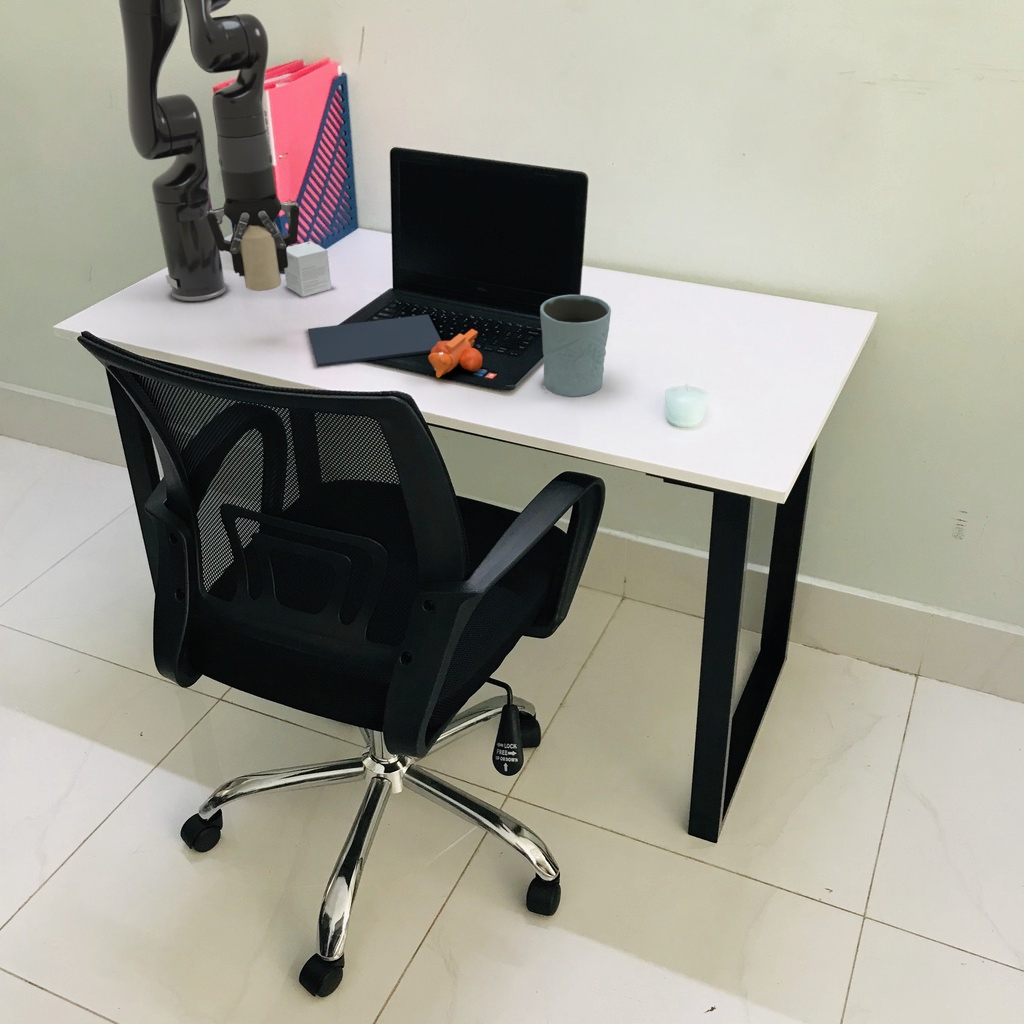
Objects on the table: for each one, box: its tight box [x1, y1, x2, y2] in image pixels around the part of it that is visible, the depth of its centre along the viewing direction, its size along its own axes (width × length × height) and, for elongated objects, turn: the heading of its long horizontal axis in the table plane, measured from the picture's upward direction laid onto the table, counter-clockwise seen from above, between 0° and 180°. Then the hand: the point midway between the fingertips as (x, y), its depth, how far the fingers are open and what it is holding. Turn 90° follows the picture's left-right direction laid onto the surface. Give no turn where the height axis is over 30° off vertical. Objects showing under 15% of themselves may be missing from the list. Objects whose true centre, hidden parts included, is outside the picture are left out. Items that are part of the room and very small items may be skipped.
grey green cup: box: [539, 294, 612, 397], centre depth 162 cm, size 10×10×12 cm
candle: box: [239, 225, 282, 292], centre depth 171 cm, size 6×6×10 cm
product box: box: [284, 240, 332, 298], centre depth 197 cm, size 6×6×7 cm
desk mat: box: [307, 314, 442, 368], centre depth 179 cm, size 14×20×1 cm
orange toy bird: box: [427, 328, 483, 378], centre depth 169 cm, size 5×8×12 cm
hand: (261, 272), depth 173 cm, fingers closed on candle, 5 cm apart
